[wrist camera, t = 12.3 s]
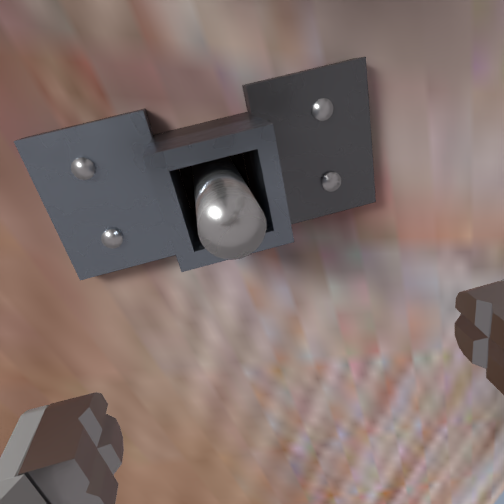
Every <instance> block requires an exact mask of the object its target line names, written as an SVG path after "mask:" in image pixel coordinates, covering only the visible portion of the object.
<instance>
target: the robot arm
mask: <svg viewBox="0 0 504 504" xmlns="http://www.w3.org/2000/svg"><path fill="white" fill-rule="evenodd" d="M455 308H456V309H457V310H458V311H459V312H460V313H461V315H460V316H459V318H458V319H457V321H456V322H455V337H456V340H457V343H458V346H459V348H460V349H461V351H462V352H463V354H464V355H465V356H466V357H467V358H468V359H469V361H470V362H471V363H473V364H475V365H478V366H481V367H483V368H486V378H487V379H488V380H489V381H490V382H491V383H492V384H493V385H494V386H495V387H496V388H497V389H498V390H499V391H500V392H501V393H502V394H503V395H504V279H503V280H501V281H498V282H494V283H491V284H487V285H483V286H480V287H476V288H473V289H469V290H466V291H462V292H459V293H458V295H457V297H456V305H455ZM107 406H108V403H107V402H106V400H105V398H104V397H103V395H102V393H97V392H96V393H92V394H88V395H84V396H80V397H76V398H72V399H68V400H64V401H60V402H56V403H52V404H50V405H46V406H42V407H38V408H34V409H30V410H27V411H26V412H25V413H23V414H22V415H21V417H20V419H19V421H18V423H17V425H16V427H15V429H14V431H13V433H12V435H11V437H10V439H9V441H8V443H7V445H6V447H5V449H4V451H3V454H2V456H1V458H0V504H115V501H116V495H117V489H118V482H117V481H116V479H115V477H114V476H113V475H114V473H115V472H116V471H117V469H118V468H119V467H120V465H121V464H122V458H123V451H124V449H123V436H122V432H121V429H120V426H119V424H118V422H117V420H116V418H114V417H112V416H110V415H108V414H106V411H107Z"/></svg>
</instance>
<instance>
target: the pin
mask: <svg viewBox="0 0 504 504" xmlns="http://www.w3.org/2000/svg"><path fill="white" fill-rule="evenodd" d="M192 173H193V184H194V195H195V206H196V216H197V227H198V235H199V238H200V241H201V243H202V245H203V246H204V247H205V249H206V250H207V251H208V252H210V253H211V254H213V255H214V256H216V257H219V258H222V259H229V260H233V259H240V258H243V257H245V256H248V255H249V254H251V253H252V252H254V251H255V250H256V249H257V248H258V247H259V246H260V244H261V243H262V241H263V239H264V237H265V233H266V218H265V215H264V213H263V211H262V209H261V208H260V206H259V204H258V203H257V201H256V199H255V198H254V196H253V194H252V193H251V191H250V189H249V188H248V186H247V185H246V183H245V181H244V180H243V178H242V176H241V175H240V173H239V171H238V170H237V168H236V166H235V165H234V163H233V162H232V160H231V158H230V157H229V156H227V157H223V158H219V159H215V160H211V161H207V162H204V163H200V164H196V165H193V167H192Z"/></svg>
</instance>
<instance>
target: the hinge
mask: <svg viewBox="0 0 504 504" xmlns="http://www.w3.org/2000/svg"><path fill="white" fill-rule="evenodd" d="M242 86H243V91H244V96H245V101H246V106H247V111H248V112H245V113H241V114H237V115H233V116H228V117H224V118H220V119H216V120H212V121H208V122H204V123H200V124H196V125H192V126H188V127H183V128H179V129H175V130H171V131H167V132H163V133H159V134H155V135H153V132H152V129H151V126H150V122H149V119H148V116H147V113H146V110H145V109H142V110H137V111H133V112H129V113H125V114H121V115H117V116H112V117H108V118H104V119H100V120H96V121H92V122H87V123H83V124H79V125H75V126H71V127H66V128H62V129H58V130H54V131H50V132H46V133H41V134H37V135H33V136H29V137H25V138H21V139H19V140H16V141H14V143H15V145H16V147H17V149H18V151H19V153H20V156H21V158H22V160H23V162H24V164H25V166H26V168H27V170H28V172H29V174H30V176H31V179H32V181H33V183H34V185H35V187H36V189H37V191H38V193H39V195H40V197H41V199H42V201H43V204H44V206H45V208H46V210H47V212H48V214H49V216H50V218H51V220H52V222H53V224H54V227H55V229H56V231H57V233H58V235H59V237H60V239H61V241H62V243H63V245H64V247H65V249H66V252H67V254H68V256H69V258H70V260H71V262H72V264H73V266H74V268H75V270H76V272H77V275H78V277H79V279H80V280H83V279H87V278H91V277H95V276H98V275H102V274H106V273H110V272H113V271H117V270H121V269H125V268H128V267H132V266H136V265H140V264H143V263H147V262H151V261H155V260H159V259H162V258H166V257H170V256H174V255H176V257H177V260H178V263H179V266H180V269H181V272H184V271H188V270H191V269H195V268H199V267H203V266H206V265H210V264H214V263H218V262H221V261H225V260H229V259H222V258H219V257H216V256H214V255H213V254H211V253H210V252H208V251H207V250H206V249H205V247H204V246H203V245H202V243H201V241H200V238H199V235H198V227H197V216H196V207H193V208H191V207H190V203H189V200H188V197H187V193H186V190H185V187H184V183H183V180H182V177H181V173H180V170H179V169H180V168H184V167H188V166H192V165H196V164H200V163H204V162H207V161H211V160H215V159H219V158H223V157H227V156H231V155H235V154H239V153H242V155H243V160H244V164H245V169H246V173H247V178H248V182H249V187H250V191H251V193H252V194H253V196H254V198H255V199H256V201H257V203H258V204H259V206H260V208H261V209H262V211H263V213H264V215H265V218H266V233H265V237H264V239H263V241H262V243H261V244H260V246H259V247H258V248H257V249H256V250H255V251H254V252H252V253H255V252H258V251H262V250H266V249H270V248H273V247H277V246H281V245H285V244H288V243H292V242H294V238H293V233H292V227H291V224H294V223H298V222H302V221H306V220H309V219H313V218H317V217H321V216H324V215H328V214H332V213H336V212H339V211H343V210H347V209H351V208H354V207H358V206H362V205H366V204H370V203H373V202H376V198H375V184H374V169H373V155H372V141H371V126H370V112H369V98H368V83H367V69H366V57H361V58H354V59H350V60H346V61H342V62H338V63H333V64H329V65H325V66H321V67H317V68H313V69H308V70H304V71H300V72H296V73H292V74H288V75H283V76H279V77H275V78H271V79H267V80H263V81H258V82H254V83H250V84H246V85H242Z"/></svg>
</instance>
